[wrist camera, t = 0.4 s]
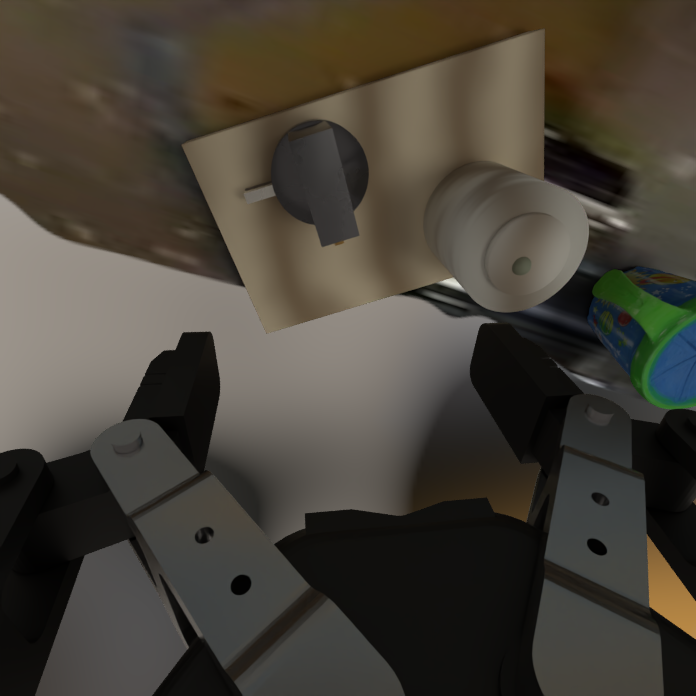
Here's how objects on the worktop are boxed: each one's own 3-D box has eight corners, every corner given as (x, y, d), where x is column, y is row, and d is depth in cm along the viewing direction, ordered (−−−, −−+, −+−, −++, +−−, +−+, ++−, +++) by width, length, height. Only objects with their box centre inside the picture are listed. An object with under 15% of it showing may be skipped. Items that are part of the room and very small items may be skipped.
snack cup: (533, 296, 39) (603, 357, 31) (632, 206, 35) (742, 247, 27) (612, 373, 46) (687, 440, 37) (701, 304, 42) (806, 361, 34)
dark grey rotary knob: (352, 105, 26) (367, 112, 22) (374, 204, 30) (392, 228, 25) (227, 145, 27) (215, 160, 22) (263, 238, 30) (260, 269, 25)
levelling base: (528, 31, 28) (653, 8, 18) (531, 242, 36) (617, 299, 27) (187, 140, 28) (141, 171, 19) (267, 322, 37) (262, 404, 27)
